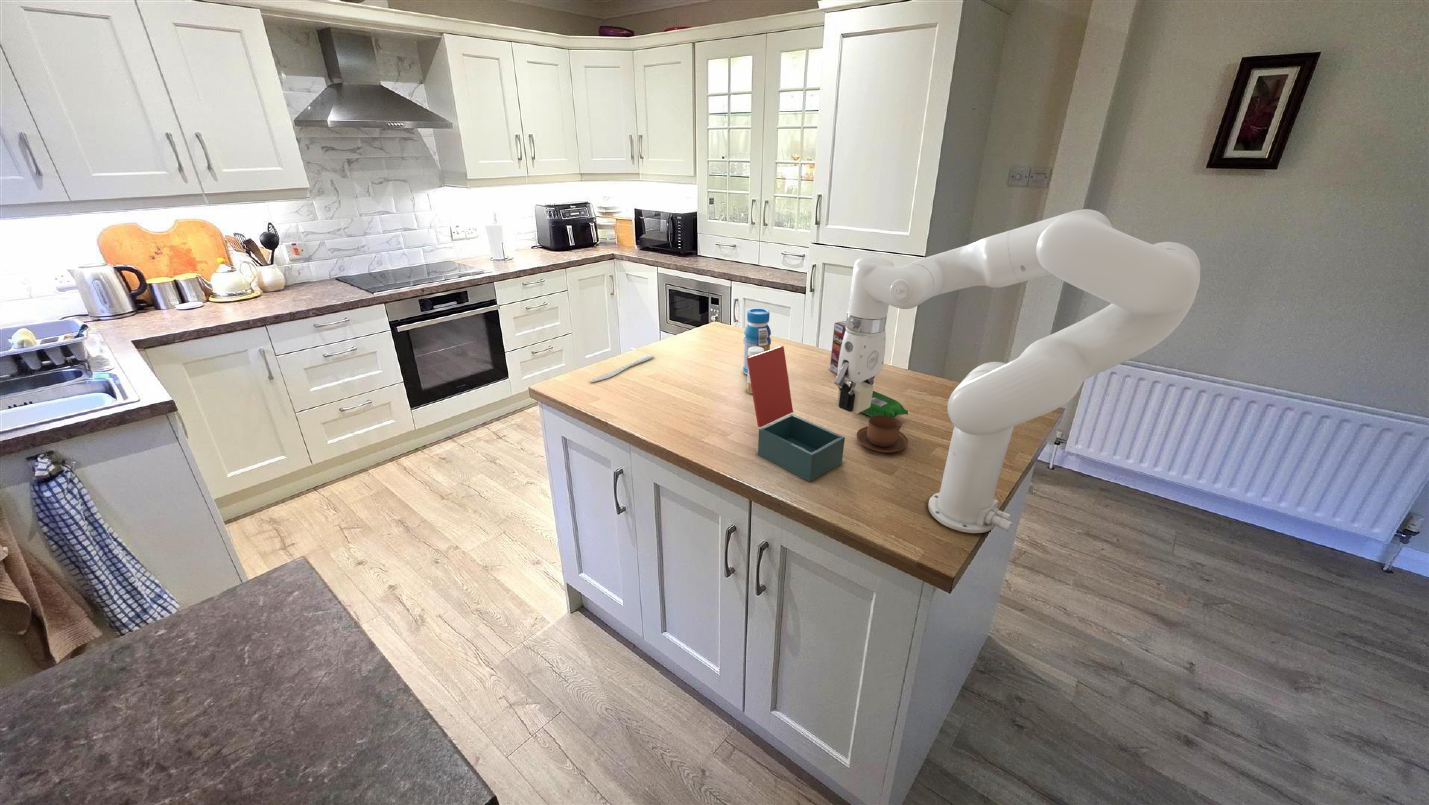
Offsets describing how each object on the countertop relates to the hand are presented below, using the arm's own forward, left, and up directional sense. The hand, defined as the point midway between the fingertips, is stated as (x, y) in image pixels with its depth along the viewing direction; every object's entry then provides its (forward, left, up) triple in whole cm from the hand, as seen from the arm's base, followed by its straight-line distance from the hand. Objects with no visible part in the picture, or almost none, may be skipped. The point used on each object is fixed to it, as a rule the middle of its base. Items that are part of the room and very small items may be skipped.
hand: (853, 404), depth 116 cm
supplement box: (+34, -46, -17) cm, 60 cm away
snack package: (+11, -29, -17) cm, 36 cm away
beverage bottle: (+53, -26, -17) cm, 62 cm away
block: (0, 0, 0) cm, 0 cm away
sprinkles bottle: (+43, -15, -17) cm, 49 cm away
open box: (+10, +4, -17) cm, 20 cm away
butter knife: (+83, +4, -17) cm, 85 cm away
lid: (+20, +4, -1) cm, 20 cm away
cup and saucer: (+1, -16, -17) cm, 23 cm away
